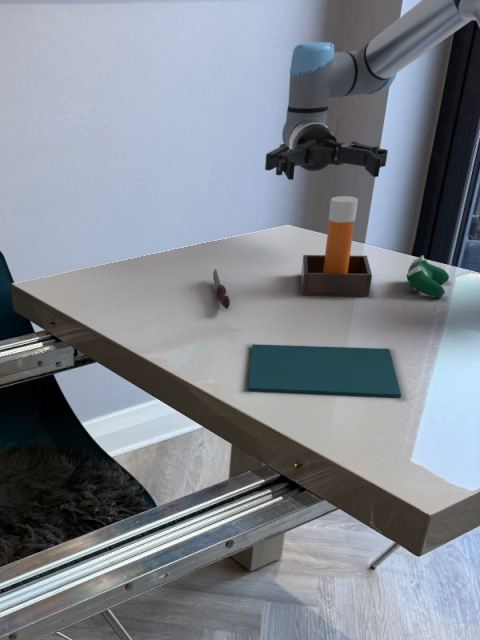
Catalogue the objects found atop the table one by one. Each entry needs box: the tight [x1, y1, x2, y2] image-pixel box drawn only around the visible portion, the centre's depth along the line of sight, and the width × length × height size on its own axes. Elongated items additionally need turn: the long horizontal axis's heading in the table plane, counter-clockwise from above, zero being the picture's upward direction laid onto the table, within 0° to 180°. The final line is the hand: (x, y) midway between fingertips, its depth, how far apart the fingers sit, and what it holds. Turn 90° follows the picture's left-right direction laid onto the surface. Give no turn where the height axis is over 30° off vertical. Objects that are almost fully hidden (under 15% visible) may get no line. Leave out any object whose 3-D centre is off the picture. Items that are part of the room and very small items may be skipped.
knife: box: [212, 268, 231, 310], centre depth 125 cm, size 18×2×3 cm, turn 179°
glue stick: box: [323, 195, 359, 273], centre depth 124 cm, size 4×4×13 cm
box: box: [300, 254, 373, 297], centre depth 127 cm, size 10×10×3 cm
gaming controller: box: [406, 255, 450, 299], centre depth 123 cm, size 9×4×6 cm
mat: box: [247, 343, 402, 398], centre depth 101 cm, size 18×14×1 cm
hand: (334, 169), depth 127 cm, fingers open, 13 cm apart
